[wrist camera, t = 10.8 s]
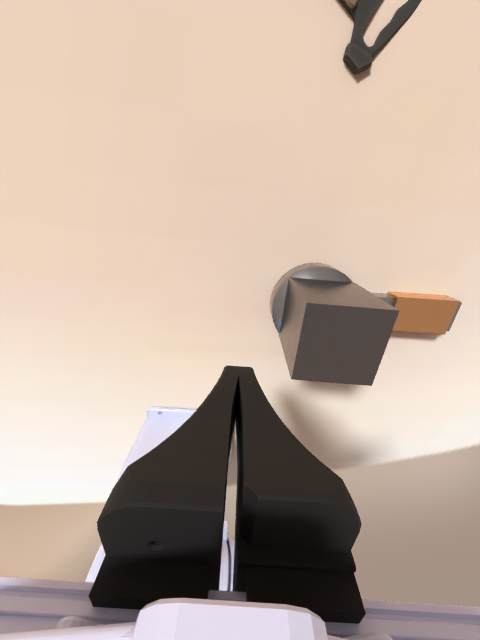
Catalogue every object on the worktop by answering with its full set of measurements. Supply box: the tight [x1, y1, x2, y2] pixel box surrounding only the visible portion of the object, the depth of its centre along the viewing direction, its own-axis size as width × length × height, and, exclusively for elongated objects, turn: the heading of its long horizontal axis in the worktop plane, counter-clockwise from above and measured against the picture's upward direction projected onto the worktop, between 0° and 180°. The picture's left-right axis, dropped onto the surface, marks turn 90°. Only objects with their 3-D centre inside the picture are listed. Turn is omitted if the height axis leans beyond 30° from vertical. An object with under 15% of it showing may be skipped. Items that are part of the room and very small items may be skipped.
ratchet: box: [270, 263, 462, 334], centre depth 19 cm, size 16×7×5 cm, turn 86°
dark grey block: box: [279, 277, 400, 386], centre depth 17 cm, size 5×5×6 cm
